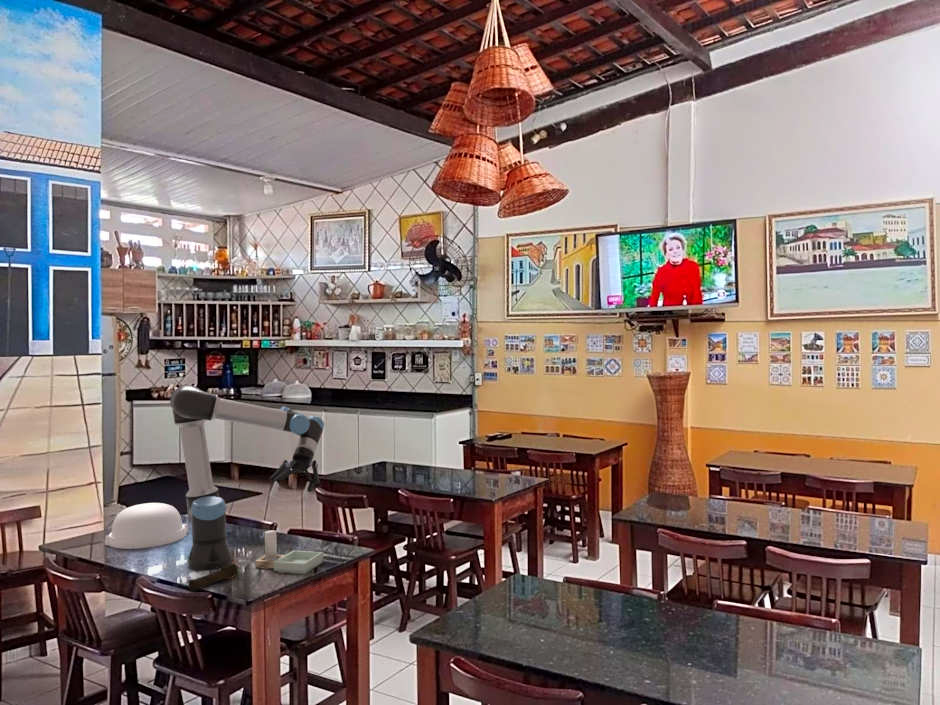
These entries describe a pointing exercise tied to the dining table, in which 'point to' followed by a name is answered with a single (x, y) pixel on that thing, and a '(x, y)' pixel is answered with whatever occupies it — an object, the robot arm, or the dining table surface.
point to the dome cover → (146, 526)
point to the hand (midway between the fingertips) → (287, 498)
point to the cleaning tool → (270, 545)
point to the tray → (298, 562)
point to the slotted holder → (266, 562)
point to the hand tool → (213, 577)
